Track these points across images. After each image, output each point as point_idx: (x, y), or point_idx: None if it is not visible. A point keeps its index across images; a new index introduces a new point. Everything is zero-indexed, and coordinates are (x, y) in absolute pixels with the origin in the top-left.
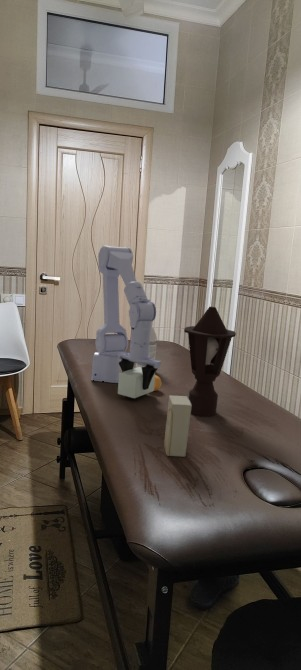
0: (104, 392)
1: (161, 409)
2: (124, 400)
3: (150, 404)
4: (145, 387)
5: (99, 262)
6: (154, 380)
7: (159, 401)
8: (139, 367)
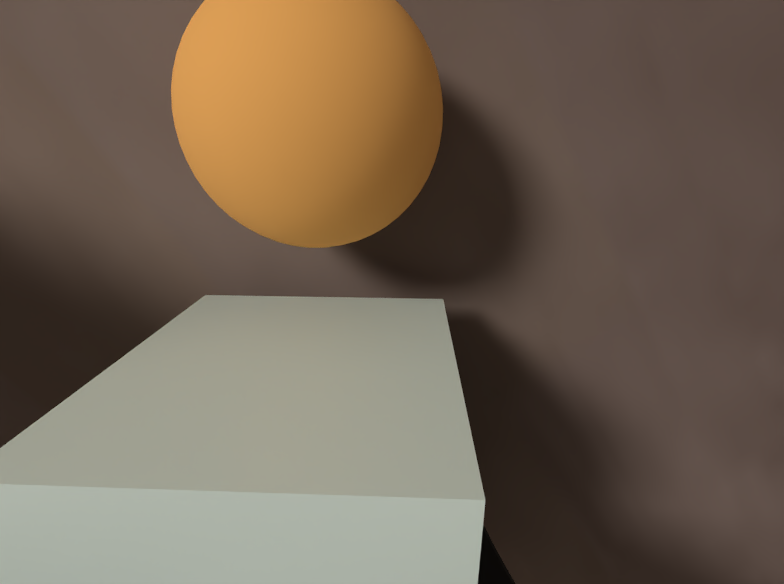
0: None
1: (680, 541)
2: None
3: (551, 507)
4: None
5: None
6: (455, 365)
7: (582, 397)
8: (9, 521)
